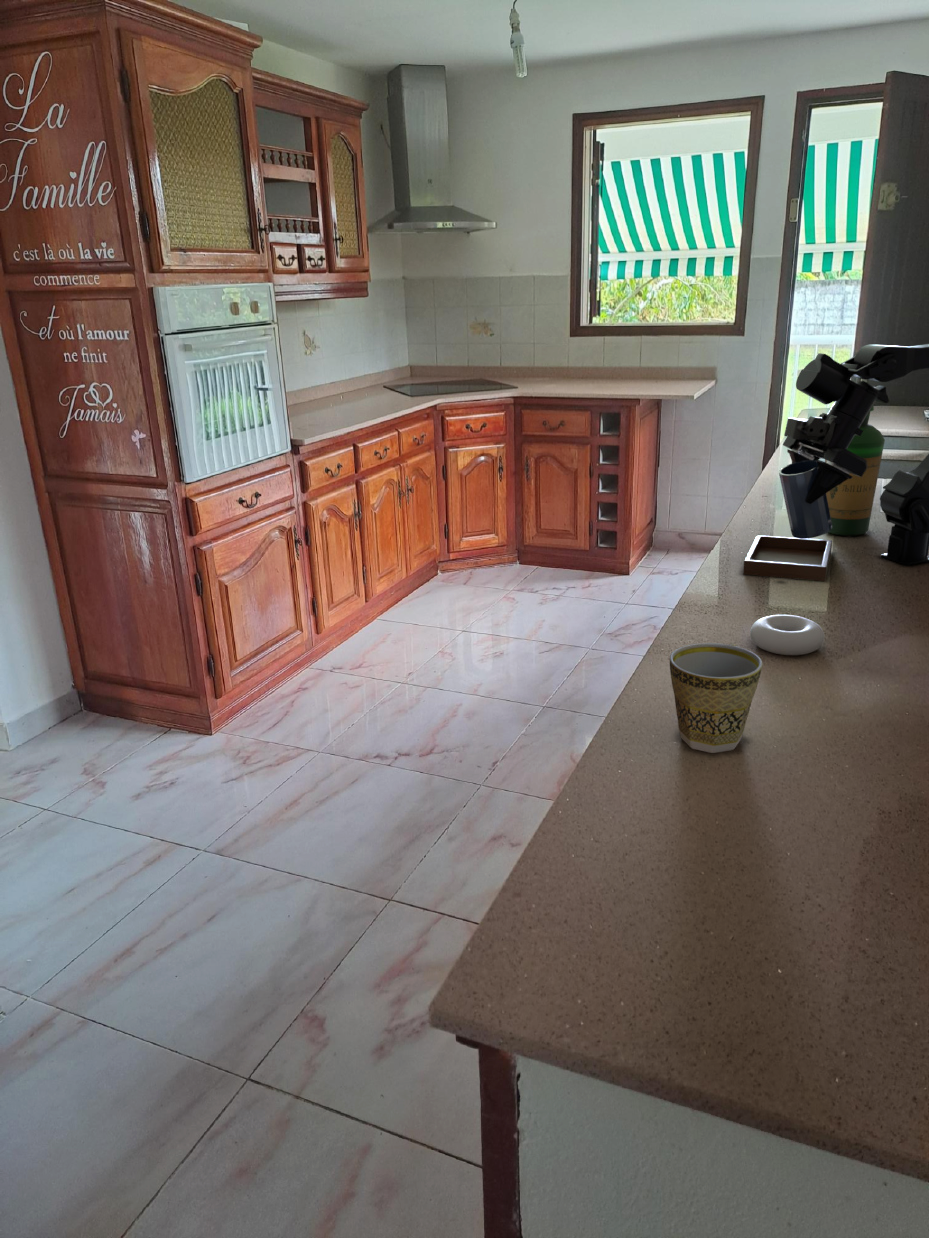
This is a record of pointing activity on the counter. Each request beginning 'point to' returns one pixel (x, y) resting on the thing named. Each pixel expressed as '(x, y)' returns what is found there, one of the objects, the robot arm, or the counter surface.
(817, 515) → the cup
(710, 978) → the counter surface
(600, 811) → the counter surface
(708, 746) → the ceramic cup
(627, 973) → the counter surface
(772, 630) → the donut
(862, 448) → the bottle
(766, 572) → the tray
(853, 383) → the robot arm
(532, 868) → the counter surface
